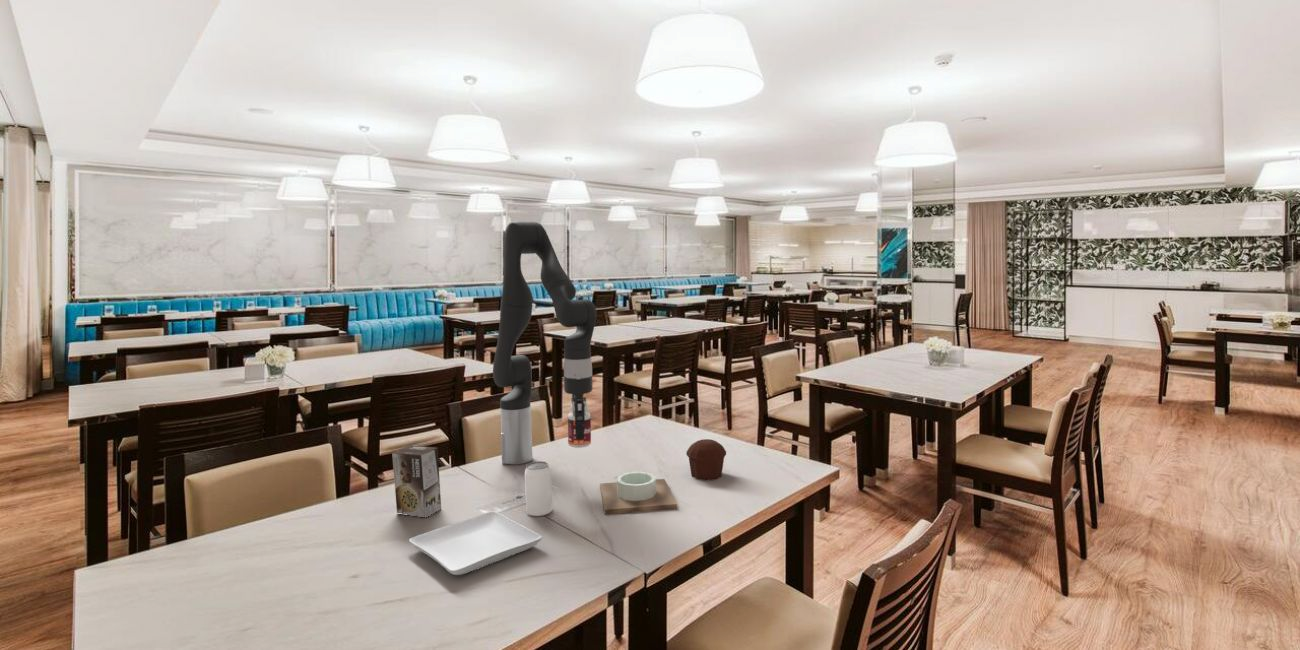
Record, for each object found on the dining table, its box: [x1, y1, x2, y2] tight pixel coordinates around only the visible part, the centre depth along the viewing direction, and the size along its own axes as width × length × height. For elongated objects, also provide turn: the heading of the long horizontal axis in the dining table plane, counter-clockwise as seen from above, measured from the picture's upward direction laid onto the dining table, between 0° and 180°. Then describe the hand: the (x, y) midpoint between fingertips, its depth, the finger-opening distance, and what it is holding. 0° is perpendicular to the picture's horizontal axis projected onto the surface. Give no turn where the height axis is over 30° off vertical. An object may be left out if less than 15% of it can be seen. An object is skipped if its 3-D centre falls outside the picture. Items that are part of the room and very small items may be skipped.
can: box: [524, 461, 553, 517], centre depth 150 cm, size 6×6×12 cm
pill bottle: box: [567, 403, 592, 449], centre depth 163 cm, size 6×6×11 cm
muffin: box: [685, 439, 727, 481], centre depth 174 cm, size 12×11×10 cm
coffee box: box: [391, 445, 442, 519], centre depth 151 cm, size 9×6×16 cm
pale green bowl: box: [616, 471, 656, 501], centre depth 158 cm, size 10×10×4 cm
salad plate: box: [408, 510, 543, 576], centre depth 131 cm, size 21×21×3 cm
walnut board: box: [599, 478, 678, 515], centre depth 158 cm, size 18×18×1 cm
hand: (579, 434), depth 163 cm, fingers closed on pill bottle, 6 cm apart
